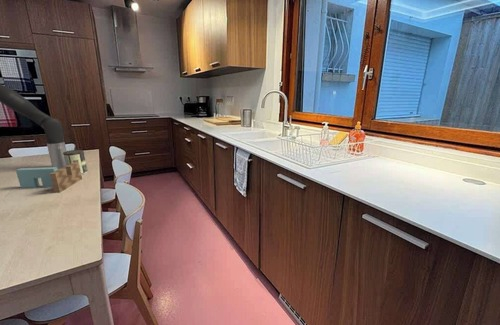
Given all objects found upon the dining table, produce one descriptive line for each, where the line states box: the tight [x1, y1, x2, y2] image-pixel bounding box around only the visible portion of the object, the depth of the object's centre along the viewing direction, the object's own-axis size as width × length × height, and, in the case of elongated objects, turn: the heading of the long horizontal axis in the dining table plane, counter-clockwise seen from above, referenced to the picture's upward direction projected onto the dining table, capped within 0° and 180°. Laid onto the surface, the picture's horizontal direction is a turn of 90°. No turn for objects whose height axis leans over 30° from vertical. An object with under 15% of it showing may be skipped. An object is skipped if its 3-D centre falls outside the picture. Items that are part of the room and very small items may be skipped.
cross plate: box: [15, 166, 59, 189], centre depth 127 cm, size 3×18×10 cm, turn 96°
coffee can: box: [63, 149, 88, 176], centre depth 147 cm, size 10×10×14 cm
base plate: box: [50, 162, 83, 193], centre depth 128 cm, size 20×2×10 cm, turn 6°
